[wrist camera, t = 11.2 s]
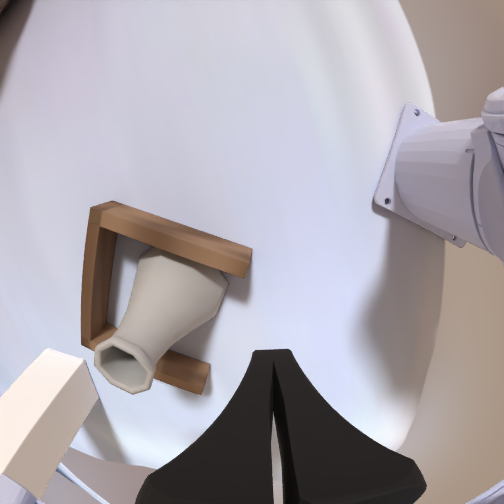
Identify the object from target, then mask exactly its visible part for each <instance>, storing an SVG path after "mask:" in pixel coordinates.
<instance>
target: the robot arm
mask: <svg viewBox="0 0 504 504" xmlns="http://www.w3.org/2000/svg"><path fill="white" fill-rule="evenodd" d="M414 110H416V111H417V113H418V115H417V116H416V115H415V113H414ZM386 198H388V199H389V203H388V204H385V199H386ZM374 202H375V203H376V204H377V205H379V206H381V207H383V208H385V209H388V210H390V211H392V212H394V213H396V214H398V215H400V216H402V217H404V218H406V219H408V220H410V221H412V222H414V223H416V224H418V225H419V226H421V227H423V228H425V229H427V230H429V231H431V232H433V233H434V234H436V235H438V236H440V237H442V238H444V239H445V240H447V241H449V242H451V243H452V244H454V245H456V246H458V247H459V248H462V247H464V245H465V243H466V241H467V242H469V243H471V244H473V245H475V246H477V247H479V248H481V249H483V250H485V251H487V252H489V253H490V254H492V255H494V256H496V257H497V258H499V259H500V260H501V261H502V262H503V265H504V87H502V88H500V89H498V90H496V91H494V92H493V93H491V94H490V95H489V96H488V97H487V99H486V102H485V106H484V108H483V109H482V111H481V118H472V119H465V120H458V121H451V122H444V123H442V122H440V121H439V120H437V119H436V118H434V117H433V116H431V115H430V114H428V113H427V112H425V111H424V110H422V109H421V108H419V107H417V106H416V105H414V104H412V103H407V104H405V105H404V108H403V111H402V115H401V118H400V121H399V125H398V128H397V131H396V134H395V137H394V140H393V144H392V147H391V150H390V153H389V156H388V158H387V161H386V164H385V167H384V170H383V173H382V176H381V178H380V181H379V184H378V186H377V189H376V192H375V194H374ZM453 235H454V238H453V239H452V237H453ZM273 412H274V418H275V425H276V431H277V437H278V443H279V449H280V456H281V464H282V484H283V504H413V503H414V502H415V501H416V500H418V499H419V498H420V497H421V495H422V494H423V493H424V492H425V490H426V487H427V485H426V482H425V480H424V478H423V475H422V473H421V471H420V470H419V468H418V466H417V465H416V463H415V462H414V460H412V459H410V458H408V457H405V456H403V455H401V454H399V453H397V452H394V451H392V450H390V449H388V448H386V447H384V446H383V445H381V444H379V443H378V442H376V441H374V440H373V439H371V438H370V437H368V436H367V435H365V434H364V433H362V432H361V431H360V430H358V429H357V428H355V427H354V426H353V425H351V424H350V423H349V422H348V421H347V420H345V419H344V418H343V417H342V416H341V415H340V414H339V413H338V412H337V411H335V410H334V409H333V408H332V407H331V406H330V405H329V404H328V402H327V401H326V400H325V399H324V398H323V397H322V396H321V395H320V394H319V392H318V391H317V390H316V389H315V387H314V386H313V385H312V384H311V382H310V381H309V379H308V378H307V377H306V375H305V374H304V372H303V371H302V369H301V368H300V366H299V365H298V363H297V361H296V359H295V358H294V356H293V354H292V351H291V350H289V349H274V350H255V351H254V352H253V354H252V358H251V361H250V364H249V366H248V369H247V371H246V373H245V375H244V377H243V379H242V381H241V383H240V385H239V387H238V389H237V390H236V392H235V393H234V395H233V397H232V398H231V400H230V401H229V403H228V404H227V406H226V407H225V409H224V410H223V411H222V413H221V414H220V415H219V416H218V418H217V419H216V420H215V421H214V422H213V424H212V425H211V426H210V427H209V428H208V429H207V430H206V431H205V432H204V433H203V434H202V435H201V436H200V437H199V438H198V439H197V440H196V441H195V442H194V443H193V444H191V445H190V446H189V447H188V448H187V449H186V450H184V451H183V452H182V453H181V454H179V455H178V456H177V457H176V458H174V459H173V460H172V461H170V462H169V463H167V464H165V465H164V466H162V467H161V468H159V469H158V470H156V471H155V472H153V473H151V474H150V475H148V476H147V478H146V479H145V481H144V483H143V485H142V487H141V489H140V491H139V493H138V495H137V498H136V502H135V504H274V499H273V479H272V458H271V435H272V421H273ZM0 504H46V503H44V502H42V501H40V500H39V499H37V498H36V497H35V496H34V495H33V494H32V493H31V492H30V491H28V490H27V489H26V488H25V487H23V486H22V485H20V484H19V483H17V482H16V481H14V480H13V479H12V478H10V477H9V476H7V475H6V474H4V473H1V475H0ZM465 504H504V480H502V481H500V482H499V483H497V484H496V485H495V486H493V487H492V488H490V489H488V490H487V491H486V492H484V493H482V494H480V495H479V496H477V497H476V498H474V499H472V500H470V501H469V502H467V503H465Z"/></svg>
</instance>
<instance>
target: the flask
mask: <svg viewBox="0 0 504 504" xmlns="http://www.w3.org/2000/svg"><path fill="white" fill-rule="evenodd" d="M228 285H229V284H228V283H227V281H226V280H225V278H224V277H223V275H222V274H221V272H220V271H219V270H218V269H215V268H212V267H210V266H207V265H204V264H201V263H198V262H195V261H193V260H190V259H187V258H184V257H181V256H179V255H176V254H173V253H170V252H168V251H165V250H162V249H159V248H157V247H152V248H151V249H149V250H148V251H146V252H145V253H143V254H142V255H141V256H140V260H139V263H138V267H137V272H136V276H135V280H134V285H133V288H132V292H131V296H130V300H129V303H128V307H127V311H126V313H125V315H124V317H123V319H122V321H121V323H120V325H119V327H118V330H117V331H116V332H115V333H114V335H113V336H112V337H111V338H109V339H107V340H105V341H103V342H102V343H100V344H98V345H97V346H96V347H95V357H94V366H95V367H96V368H97V369H98V370H99V372H100V373H101V374H102V375H103V376H104V377H105V378H106V379H107V380H108V381H109V383H110V384H112V385H114V386H116V387H118V388H120V389H122V390H124V391H126V392H128V393H130V394H132V395H133V394H137V393H140V392H143V391H146V390H149V389H150V388H151V385H152V381H153V378H154V374H155V370H156V366H155V365H156V363H157V361H158V360H159V359H160V358H161V357H162V356H163V355H164V353H165V352H166V351H167V350H168V349H169V348H170V347H171V346H172V345H173V344H174V343H176V342H177V341H179V340H180V339H182V338H183V337H184V336H186V335H187V334H189V333H190V332H192V331H193V330H194V329H196V328H198V327H199V326H201V325H203V324H204V323H206V322H207V321H209V320H211V319H212V318H213V317H215V316H216V314H217V312H218V309H219V307H220V304H221V302H222V299H223V297H224V294H225V292H226V290H227V287H228Z"/></svg>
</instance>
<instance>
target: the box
mask: <svg viewBox="0 0 504 504" xmlns="http://www.w3.org/2000/svg"><path fill="white" fill-rule="evenodd" d="M117 233H119V234H122V235H125V236H127V237H130V238H133V239H135V240H138V241H141V242H143V243H146V244H149V245H151V246H154V247H157V248H159V249H162V250H165V251H168V252H170V253H173V254H176V255H179V256H181V257H184V258H187V259H190V260H193V261H195V262H198V263H201V264H204V265H207V266H210V267H212V268H215V269H218V270H221V271H224V272H227V273H230V274H233V275H236V276H239V277H241V278H245V275H246V273H247V270H248V267H249V264H250V259H251V254H252V249H251V248H249V247H246V246H243V245H240V244H237V243H234V242H231V241H228V240H226V239H223V238H220V237H217V236H214V235H211V234H208V233H205V232H202V231H199V230H197V229H194V228H191V227H188V226H185V225H182V224H179V223H176V222H173V221H170V220H168V219H165V218H162V217H159V216H156V215H153V214H150V213H147V212H144V211H141V210H138V209H136V208H133V207H130V206H127V205H124V204H121V203H118V202H115V201H109V202H106V203H103V204H99V205H96V206H93V207H91V208H90V214H89V220H88V227H87V235H86V243H85V252H84V262H83V275H82V292H81V345H83V346H85V347H87V348H88V349H90V350H92V351H94V352H95V347H96V346H97V345H98V344H100V343H102V342H103V341H105V340H107V339H109V338H111V337H112V336H113V335H114V333H115V332H116V331H117V330H118V328H116V327H114V326H111V325H109V324H107V309H108V298H109V289H110V280H111V272H112V265H113V258H114V251H115V245H116V239H117ZM155 366H156V370H155V374H154V379H157V380H160V381H162V382H165V383H167V384H170V385H173V386H176V387H178V388H181V389H184V390H187V391H190V392H193V393H196V394H199V395H201V394H202V392H203V389H204V386H205V382H206V378H207V375H208V371H209V367H210V364H208V363H205V362H202V361H199V360H196V359H193V358H190V357H188V356H185V355H182V354H179V353H177V352H174V351H171V350H169V349H168V350H167V351H166V352H165V353H164V355H163V356H162V357H161V358H160V359H159V360H158V361H157V363H156V365H155Z"/></svg>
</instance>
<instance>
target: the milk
mask: <svg viewBox="0 0 504 504" xmlns="http://www.w3.org/2000/svg"><path fill="white" fill-rule="evenodd" d="M98 398H99V396H98V394H97V391H96V389H95V386H94V384H93V381H92V379H91V376H90V373H89V371H88V368H87V365H86V362H85V360H84V359H81V358H78V357H74V356H71V355H68V354H65V353H61V352H58V351H55V350H52V349H49V348H46V349H45V350H44V351H43V352H42V353H41V354H40V355H39V357H38V358H37V359H36V360H35V361H34V362H33V363H32V364H31V365H30V366H29V367H28V368H27V369H26V370H25V371H24V372H23V373H22V374H21V375H20V377H19V378H18V379H17V380H16V381H15V382H14V383H13V384H12V385H11V386H10V387H9V389H8V390H7V391H6V392H5V393H4V394H3V395H2V397H1V398H0V475H1V473H4V474H6V475H7V476H9V477H10V478H12V479H13V480H14V481H16V482H17V483H19V484H20V485H22V486H23V487H25V488H26V489H27V490H28V491H30V492H31V493H32V494H33V495H34V496H35V497H36V498H37V499H39V500H40V499H41V496H42V495H43V493H44V491H45V489H46V487H47V485H48V483H49V482H50V480H51V478H52V476H53V474H54V472H55V471H56V469H57V467H58V465H59V463H60V462H61V460H62V458H63V456H64V455H65V453H66V451H67V449H68V448H69V446H70V444H71V442H72V441H73V439H74V437H75V436H76V434H77V432H78V431H79V429H80V427H81V426H82V424H83V422H84V421H85V419H86V417H87V416H88V414H89V413H90V411H91V409H92V408H93V406H94V404H95V403H96V401H97V400H98Z"/></svg>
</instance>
